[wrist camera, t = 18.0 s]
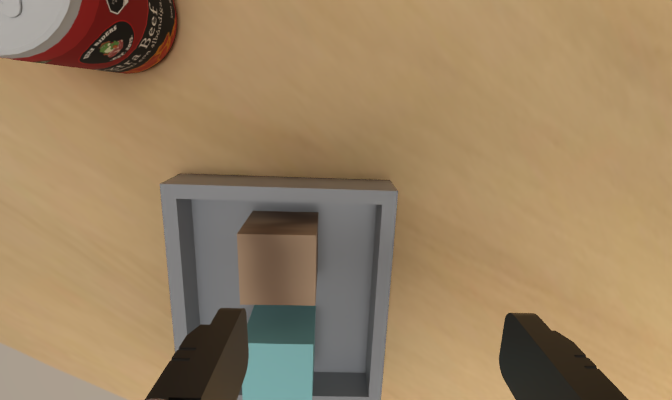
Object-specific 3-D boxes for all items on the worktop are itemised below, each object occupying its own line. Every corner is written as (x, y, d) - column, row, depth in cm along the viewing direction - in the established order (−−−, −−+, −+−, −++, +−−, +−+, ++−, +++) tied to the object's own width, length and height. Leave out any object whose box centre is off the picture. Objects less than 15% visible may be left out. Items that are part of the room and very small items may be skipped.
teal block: (315, 305, 30) (313, 344, 25) (314, 357, 32) (311, 403, 27) (254, 304, 30) (240, 343, 25) (255, 356, 31) (242, 402, 27)
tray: (389, 180, 28) (398, 191, 25) (375, 376, 33) (380, 407, 30) (180, 173, 28) (159, 183, 25) (195, 373, 33) (179, 404, 29)
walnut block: (318, 212, 28) (316, 235, 23) (317, 272, 29) (315, 305, 25) (252, 210, 28) (236, 233, 23) (254, 271, 29) (239, 304, 24)
